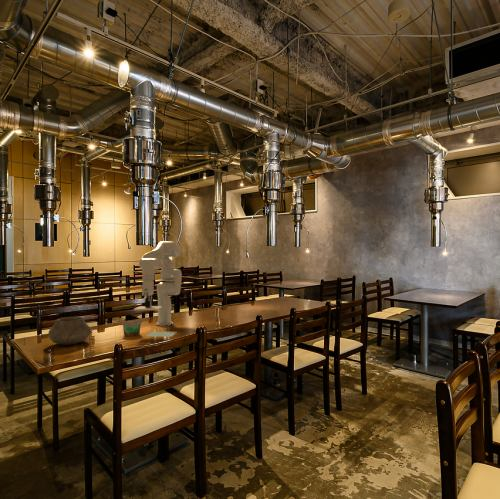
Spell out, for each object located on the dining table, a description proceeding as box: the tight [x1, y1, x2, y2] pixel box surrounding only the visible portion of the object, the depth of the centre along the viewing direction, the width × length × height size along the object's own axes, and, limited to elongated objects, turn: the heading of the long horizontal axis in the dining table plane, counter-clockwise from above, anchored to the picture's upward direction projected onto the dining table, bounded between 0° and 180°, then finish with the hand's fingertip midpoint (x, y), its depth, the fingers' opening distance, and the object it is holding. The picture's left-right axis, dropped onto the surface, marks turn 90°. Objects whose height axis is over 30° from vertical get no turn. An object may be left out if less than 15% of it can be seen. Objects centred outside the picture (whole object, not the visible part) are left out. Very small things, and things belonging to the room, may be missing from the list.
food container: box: [121, 319, 142, 337], centre depth 211 cm, size 12×6×10 cm, turn 105°
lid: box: [133, 299, 162, 311], centre depth 213 cm, size 10×15×6 cm, turn 90°
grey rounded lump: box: [47, 316, 92, 346], centre depth 195 cm, size 22×21×15 cm
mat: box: [146, 331, 177, 338], centre depth 215 cm, size 13×17×1 cm
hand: (148, 306), depth 213 cm, fingers closed on lid, 3 cm apart
